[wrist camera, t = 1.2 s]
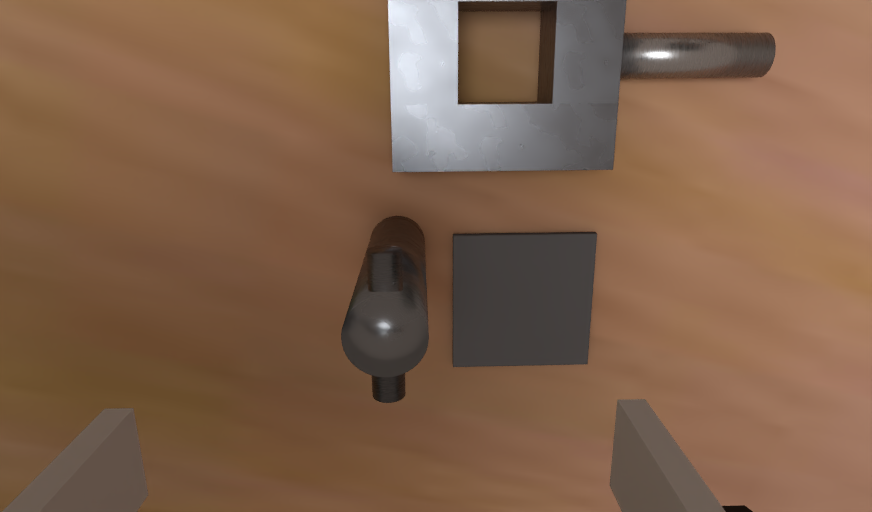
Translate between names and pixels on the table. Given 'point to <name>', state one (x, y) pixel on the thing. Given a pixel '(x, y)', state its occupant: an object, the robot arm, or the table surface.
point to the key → (389, 308)
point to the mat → (522, 298)
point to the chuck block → (539, 84)
